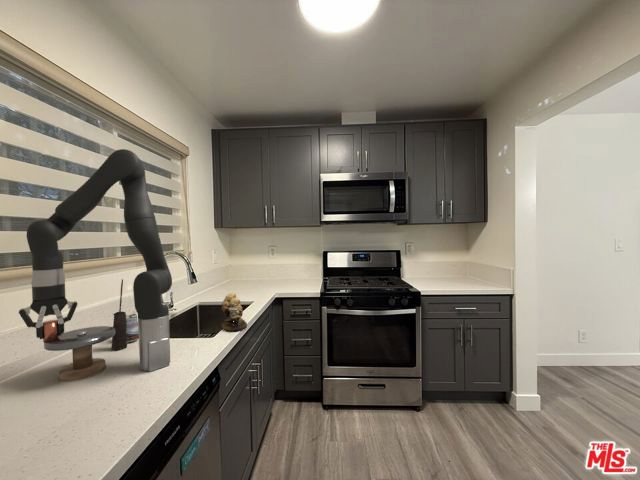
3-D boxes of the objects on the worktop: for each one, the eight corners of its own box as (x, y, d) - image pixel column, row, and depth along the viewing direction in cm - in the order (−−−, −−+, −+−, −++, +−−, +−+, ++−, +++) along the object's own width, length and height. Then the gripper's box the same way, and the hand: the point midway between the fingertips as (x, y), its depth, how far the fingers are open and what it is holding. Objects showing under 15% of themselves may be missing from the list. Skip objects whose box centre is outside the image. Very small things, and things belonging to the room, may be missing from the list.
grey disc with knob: (116, 326, 105) (115, 307, 105) (114, 341, 90) (113, 318, 90) (50, 337, 95) (49, 316, 95) (35, 356, 80) (34, 330, 80)
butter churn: (112, 356, 105) (109, 282, 104) (97, 352, 109) (94, 281, 108) (136, 346, 113) (134, 278, 113) (121, 343, 117) (119, 278, 117)
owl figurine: (251, 330, 131) (250, 294, 131) (225, 334, 125) (224, 297, 125) (242, 320, 147) (241, 288, 146) (219, 324, 141) (218, 290, 141)
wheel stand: (109, 371, 93) (107, 339, 93) (60, 385, 84) (58, 351, 84) (102, 360, 101) (101, 331, 101) (57, 372, 92) (56, 341, 92)
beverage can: (131, 344, 116) (130, 316, 116) (116, 343, 118) (115, 315, 117) (143, 339, 122) (142, 312, 122) (129, 338, 124) (128, 311, 124)
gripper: (78, 279, 95) (79, 328, 96) (17, 284, 86) (19, 339, 86) (78, 282, 90) (80, 334, 90) (14, 288, 80) (16, 346, 81)
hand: (50, 336), depth 88 cm, fingers closed on grey disc with knob, 3 cm apart
